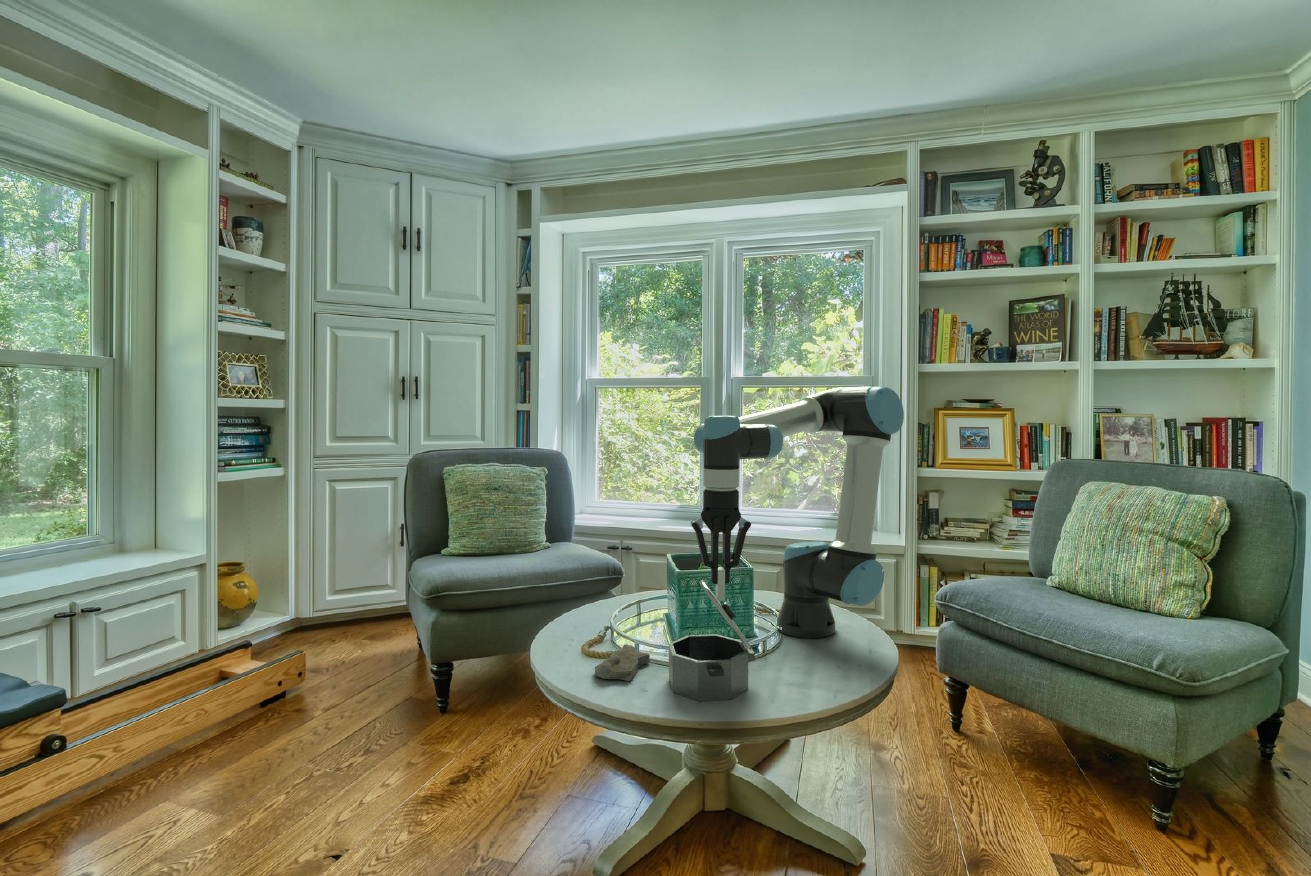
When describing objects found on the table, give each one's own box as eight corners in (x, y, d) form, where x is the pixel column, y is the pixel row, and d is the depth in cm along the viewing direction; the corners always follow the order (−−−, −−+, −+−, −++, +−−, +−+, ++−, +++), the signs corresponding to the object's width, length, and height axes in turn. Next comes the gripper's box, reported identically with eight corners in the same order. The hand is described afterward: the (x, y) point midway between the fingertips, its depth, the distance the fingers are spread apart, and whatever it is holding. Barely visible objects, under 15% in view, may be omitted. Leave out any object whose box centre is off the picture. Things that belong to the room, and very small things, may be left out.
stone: (615, 657, 162) (615, 640, 162) (653, 662, 158) (653, 645, 158) (587, 680, 148) (587, 662, 148) (627, 687, 145) (627, 668, 144)
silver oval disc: (737, 632, 154) (744, 627, 154) (756, 660, 137) (763, 654, 137) (693, 573, 152) (701, 568, 152) (706, 595, 135) (714, 589, 135)
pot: (741, 663, 156) (741, 629, 156) (764, 703, 135) (764, 664, 135) (665, 666, 155) (665, 632, 154) (677, 707, 134) (676, 668, 133)
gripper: (747, 486, 147) (746, 593, 148) (687, 486, 146) (687, 594, 147) (755, 490, 140) (754, 603, 141) (693, 490, 139) (692, 604, 140)
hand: (720, 598), depth 144 cm, fingers closed
